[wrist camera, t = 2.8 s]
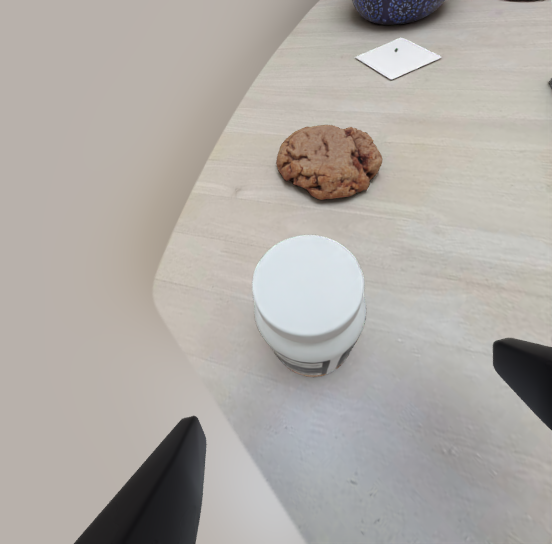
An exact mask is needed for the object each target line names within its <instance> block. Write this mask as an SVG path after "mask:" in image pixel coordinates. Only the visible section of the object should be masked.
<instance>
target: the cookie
mask: <svg viewBox="0 0 552 544" xmlns="http://www.w3.org/2000/svg"><path fill="white" fill-rule="evenodd" d="M276 164H277V167H278V171H279V172H280V173H281V174H282V176H283V178H284V179H285V180H286V181H288V180H290V181H293V180H294V183H293V185H298V186H299V187H302V188H305V189H307V190H308V192H309V193H310V195H311V196H313V197H315V198H317V199H320V200H323V199H332V198H340V197H348V196H352V195H354V194H355V193H356V192H361V191H362V190H367V188H368V187H369V182H370V180H371V179H373V177H374V176H375V175H376V174H377V173H378V171H379V168H380V166H381V164H382V156H381V154H380V152H379V151H378V149H377V147H376V145H375V144H374V143H373V140H372V138H371V137H370V136H369V135H368V134H367V133H366V132H362V131H361V130H357V129H356V128H354V129H353V128H352V127H349V128H346V129H340V128H339V127H335V126H333V125H320V126H313V127H305V128H302V129H300V130H298V131H295V132H294V133H293V134H291V135H290V136H289V137H288V138H287V139H286V140H285V141H284V142H283V143H282V145H281V147H280V150H279V153H278V156H277V162H276Z"/></svg>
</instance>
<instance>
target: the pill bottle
mask: <svg viewBox="0 0 552 544" xmlns="http://www.w3.org/2000/svg"><path fill="white" fill-rule="evenodd" d="M252 293H253V299H254V315H255V321H256V324H257V327H258V330H259V332H260V333H261V335H262V337H263V338H264V339H265V341H266V342H267V344H268V345H269V346H270V347H271V348H272V350H273V351H274V353H275V354H276V355H277V357H278V358H279V359H280V360H281V362H282V363H283V364H284V365H285V366H286V367H288V368H289V369H290V370H292V371H294V372H295V373H298V374H301V375H304V376H311V377H316V376H322V375H326V374H328V373H330V372H332V371H334V370H335V369H337V368H338V367H339V366H340V365H341V364H342V363H343V362H344V361H345V360H346V358H347V357H348V355H349V353H350V351H351V349H352V348H353V346H354V345H355V343H356V341H357V340H358V338H359V336H360V334H361V332H362V330H363V327H364V324H365V320H366V303H365V298H364V276H363V272H362V270H361V267H360V265H359V263H358V261H357V260H356V258H355V257H354V255H353V254H352V253H351V252H350V251H349V250H348V249H347V248H346V247H344V246H343V245H341V244H340V243H338V242H336V241H334V240H332V239H329V238H326V237H323V236H317V235H300V236H295V237H291V238H288V239H286V240H283V241H281V242H279V243H278V244H276V245H275V246H273V247H272V248H270V249H269V250H268V251H267V252H266V253H265V254H264V256H263V257H262V258H261V259H260V261H259V263H258V265H257V267H256V269H255V272H254V275H253V280H252Z"/></svg>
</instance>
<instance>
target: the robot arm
mask: <svg viewBox="0 0 552 544" xmlns="http://www.w3.org/2000/svg"><path fill="white" fill-rule="evenodd" d="M493 366H494V368H495V370H496V372H497V373H498V374H499V375H500V377H501V378H502V379H503V380H504V381H505V382H506V383H507V384H508V385H509V386H510V387H511V388H512V389H513V391H514V392H515V393H516V394H517V395H518V396H519V397H520V398H521V399H522V400H523V401H524V402H525V403H526V405H527V406H528V407H529V408H530V409H531V410H532V411H533V412H534V413H535V414H536V415H537V416H538V417H539V418H540V419H541V420H542V421H543V422H544V423H545V424H546V425H547V426H548V427H549V428H550V429H551V430H552V347H548V346H544V345H540V344H535V343H531V342H527V341H522V340H518V339H514V338H505V339H501V340H497V341H495V342H494V343H493ZM205 454H206V437H205V434H204V432H203V429H202V427H201V425H200V422H199V420H198V418H197V417H196V416H191V417H187V418H184V419H182V420H181V421H180V422H179V423H178V424H177V425H176V426H175V427H174V429H173V430H172V431H171V432H170V433H169V434H168V435H167V437H166V438H165V439H164V440H163V441H162V442H161V444H160V445H159V446H158V447H157V448H156V449H155V451H154V452H153V453H152V454H151V455H150V456H149V457H148V459H147V460H146V461H145V462H144V463H143V464H142V466H141V467H140V468H139V469H138V470H137V471H136V473H135V474H134V475H133V476H132V477H131V478H130V479H129V481H128V482H127V483H126V484H125V485H124V486H123V487H122V489H121V490H120V491H119V492H118V493H117V494H116V495H115V497H114V498H113V499H112V500H111V501H110V502H109V504H108V505H107V506H106V507H105V508H104V509H103V510H102V512H101V513H100V514H99V515H98V516H97V517H96V519H95V520H94V521H93V522H92V523H91V524H90V525H89V527H88V528H87V529H86V530H85V531H84V532H83V534H82V535H81V536H80V537H79V538H78V540H76V542H75V543H74V544H195V542H196V537H197V531H198V525H199V518H200V513H201V505H202V495H203V483H204V469H205V456H206V455H205Z"/></svg>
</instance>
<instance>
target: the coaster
mask: <svg viewBox="0 0 552 544" xmlns="http://www.w3.org/2000/svg"><path fill="white" fill-rule="evenodd" d="M355 58H357V59H359V60H360V61H362V62H363V63H365V64H367V65H368V66H370V67H371V68H373V69H375V70H376V71H378V72H380V73H381V74H383V75H384V76H386V77H388V78H389V79H391V80H392V79H394V78H397V77H399V76H401V75H403V74H406V73H408V72H410V71H412V70H415V69H417V68H419V67H421V66H424V65H426V64H428V63H431V62H433V61H435V60H437V59H440V58H442V57H441V56H439V55H437V54H435V53H433V52H431V51H429V50H427V49H425V48H423V47H421V46H419V45H417V44H414V43H412V42H410V41H408V40H406V39H404V38H402V37H401V38H398V39H396V40H394V41H391V42H389V43H387V44H384V45H382V46H380V47H377V48H375V49H373V50H370V51H368V52H366V53H363V54H361V55H358V56H356V57H355Z"/></svg>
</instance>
